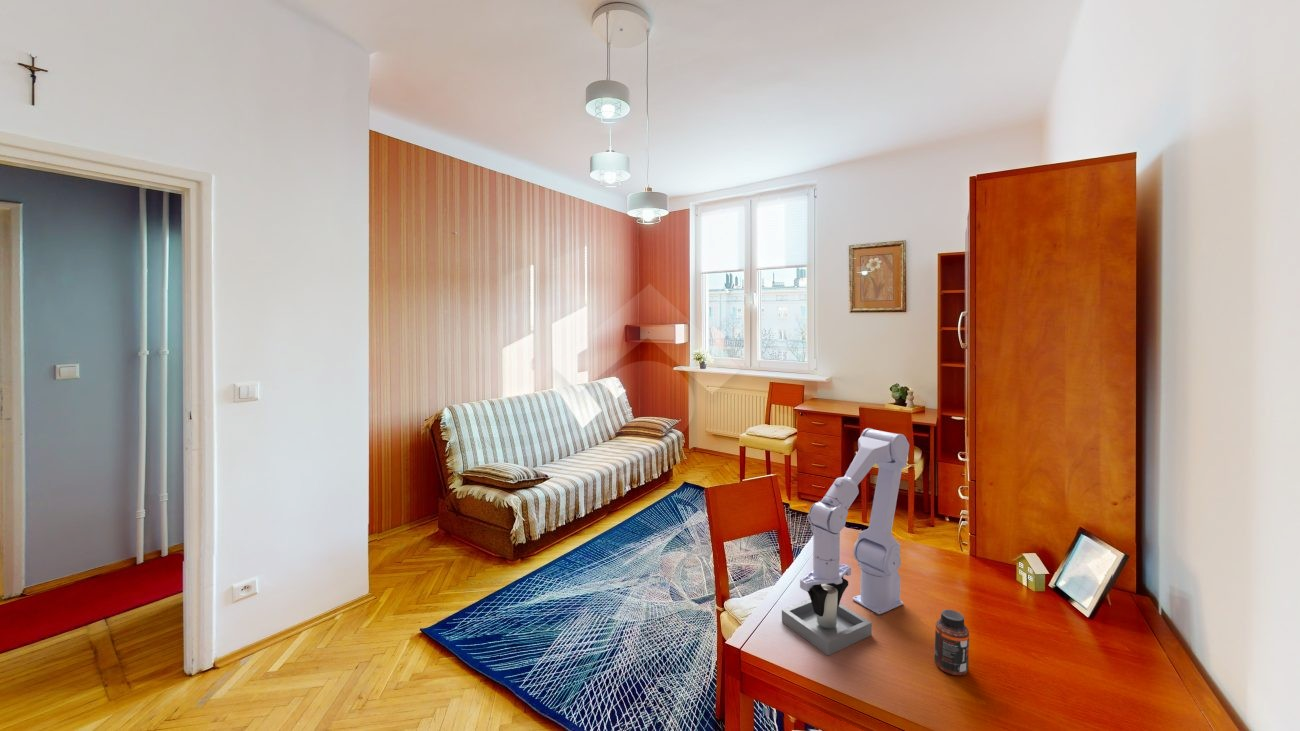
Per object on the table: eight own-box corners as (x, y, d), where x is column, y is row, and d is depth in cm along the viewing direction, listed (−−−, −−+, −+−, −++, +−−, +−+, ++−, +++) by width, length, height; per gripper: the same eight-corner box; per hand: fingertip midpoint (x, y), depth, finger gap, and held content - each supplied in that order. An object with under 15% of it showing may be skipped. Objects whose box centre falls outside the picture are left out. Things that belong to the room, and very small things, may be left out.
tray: (823, 605, 125) (823, 593, 125) (871, 635, 113) (871, 622, 112) (781, 621, 118) (781, 609, 118) (828, 655, 106) (828, 642, 106)
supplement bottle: (973, 679, 98) (975, 625, 97) (940, 675, 99) (942, 621, 98) (960, 659, 104) (962, 607, 103) (930, 655, 105) (931, 605, 104)
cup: (824, 613, 118) (826, 582, 117) (840, 623, 114) (842, 591, 113) (812, 620, 116) (813, 587, 115) (828, 630, 112) (829, 597, 111)
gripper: (817, 570, 107) (816, 629, 108) (862, 554, 114) (861, 610, 115) (793, 557, 113) (793, 613, 114) (837, 542, 120) (836, 596, 121)
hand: (825, 611), depth 115 cm, fingers closed on cup, 4 cm apart
